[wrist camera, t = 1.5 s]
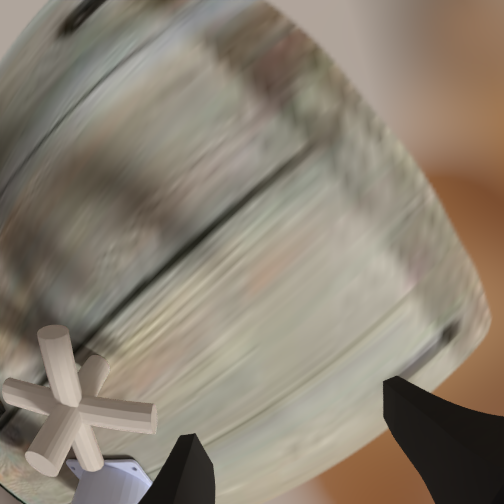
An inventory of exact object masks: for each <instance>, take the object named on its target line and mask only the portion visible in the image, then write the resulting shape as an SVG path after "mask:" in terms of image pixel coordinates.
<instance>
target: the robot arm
mask: <svg viewBox="0 0 504 504" xmlns="http://www.w3.org/2000/svg"><path fill="white" fill-rule="evenodd" d="M383 417H384V419H385V421H386V423H387V425H388V427H389V429H390V431H391V433H392V435H393V437H394V438H395V440H396V441H397V443H398V444H399V446H400V447H401V448H402V450H403V451H404V453H405V454H406V455H407V457H408V458H409V460H410V461H411V462H412V464H413V465H414V467H415V468H416V470H417V471H418V472H419V474H420V475H421V477H422V479H423V480H424V482H425V484H426V486H427V488H428V490H429V492H430V494H431V496H432V498H433V500H434V502H435V504H504V417H503V416H497V415H491V414H486V413H482V412H478V411H475V410H471V409H468V408H465V407H462V406H459V405H456V404H454V403H451V402H449V401H446V400H444V399H442V398H440V397H437V396H435V395H433V394H431V393H429V392H427V391H425V390H423V389H421V388H419V387H418V386H416V385H414V384H412V383H410V382H408V381H406V380H405V379H403V378H401V377H399V376H395V377H392V378H390V379H387V380H385V381H383ZM66 464H67V466H68V467H69V468H70V469H71V470H72V472H73V473H74V474H75V475H76V476H77V477H78V479H79V480H80V481H79V483H78V486H77V488H76V491H75V494H74V497H73V499H72V502H71V504H215V477H214V469H213V464H212V462H211V460H210V459H209V457H208V455H207V453H206V452H205V450H204V448H203V446H202V444H201V443H200V441H199V439H198V437H197V435H196V433H194V434H188V435H180V437H179V438H178V440H177V442H176V444H175V446H174V447H173V449H172V451H171V453H170V455H169V457H168V458H167V460H166V462H165V464H164V465H163V467H162V469H161V470H160V472H159V474H158V475H157V477H156V479H155V480H154V482H152V481H151V480H150V479H149V477H148V476H147V475H146V473H145V472H144V471H143V469H142V468H141V467H140V465H139V464H138V463H137V462H136V461H135V460H133V459H123V460H104V465H103V467H102V468H101V469H100V470H97V471H95V472H91V471H86V470H84V469H82V467H81V466H80V464H79V462H78V460H73V459H67V461H66Z"/></svg>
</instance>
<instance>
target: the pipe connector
mask: <svg viewBox="0 0 504 504" xmlns="http://www.w3.org/2000/svg"><path fill="white" fill-rule="evenodd" d="M37 337H38V342H39V346H40V350H41V354H42V359H43V362H44V366H45V370H46V374H47V377H48V381H49V384H50V388H49V387H45V386H40V385H36V384H32V383H28V382H24V381H21V380H17V379H13V378H8V379H6V380H5V382H4V384H3V389H2V393H3V398H4V400H5V401H6V403H8V404H11V405H14V406H17V407H20V408H24V409H27V410H30V411H34V412H37V413H41V414H44V415H48V418H47V419H46V421H45V422H44V424H43V426H42V427H41V429H40V430H39V432H38V434H37V435H36V437H35V438H34V440H33V442H32V443H31V445H30V447H29V448H28V450H27V451H26V453H25V457H26V460H27V461H28V462H29V464H30V465H31V466H32V467H33V468H35V469H36V470H37V471H39V472H40V473H42V474H44V475H46V476H50V477H56V476H57V475H58V473H59V471H60V469H61V466H62V464H63V462H64V460H65V458H66V456H67V454H68V452H69V450H70V447H71V446H72V448H73V451H74V453H75V455H76V458H77V460H78V462H79V464H80V466H81V467H82V469H84V470H86V471H91V472H95V471H97V470H100V469H101V468H102V467H103V465H104V459H103V457H102V454H101V451H100V448H99V446H98V443H97V440H96V437H95V434H94V431H93V428H92V425H93V426H98V427H104V428H110V429H116V430H123V431H130V432H138V433H146V434H155V433H156V430H157V408H156V405H155V404H151V403H141V402H132V401H123V400H116V399H109V398H102V397H96V396H97V394H98V392H99V391H100V389H101V387H102V385H103V383H104V381H105V379H106V378H107V376H108V374H109V372H110V366H109V364H108V362H107V361H106V360H105V359H104V358H103V357H101V356H99V355H91V356H90V357H89V358H88V359H87V360H86V362H85V363H84V365H83V366H82V367H81V369H80V370H79V372H78V373H77V369H76V365H75V360H74V355H73V351H72V345H71V340H70V335H69V330H68V328H67V327H65V326H62V325H49V326H45V327H43V328H41V329H39V330H38V332H37Z"/></svg>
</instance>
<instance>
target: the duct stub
mask: <svg viewBox="0 0 504 504" xmlns="http://www.w3.org/2000/svg"><path fill="white" fill-rule="evenodd" d="M4 412H5V409H4V407H3V405H2V403H1V401H0V417H1V416H2V415H3V413H4Z"/></svg>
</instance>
